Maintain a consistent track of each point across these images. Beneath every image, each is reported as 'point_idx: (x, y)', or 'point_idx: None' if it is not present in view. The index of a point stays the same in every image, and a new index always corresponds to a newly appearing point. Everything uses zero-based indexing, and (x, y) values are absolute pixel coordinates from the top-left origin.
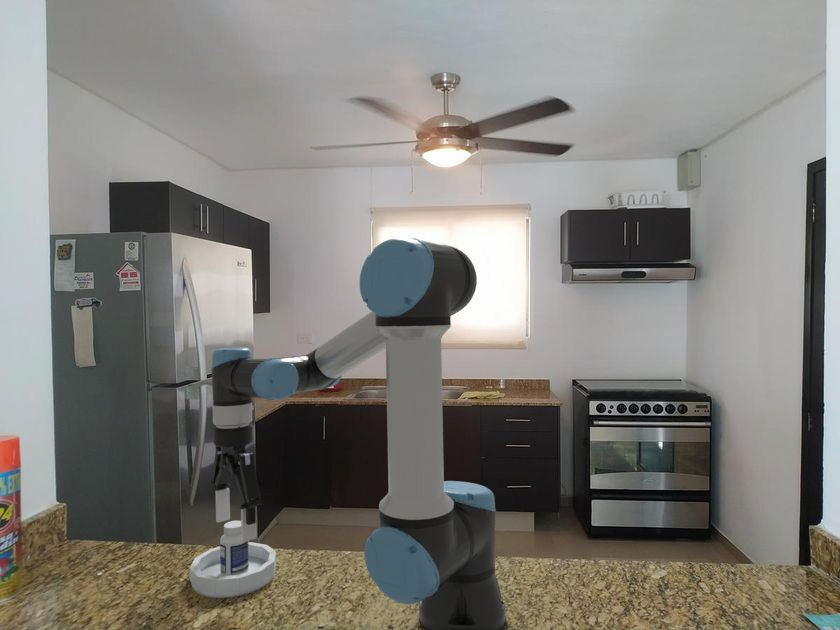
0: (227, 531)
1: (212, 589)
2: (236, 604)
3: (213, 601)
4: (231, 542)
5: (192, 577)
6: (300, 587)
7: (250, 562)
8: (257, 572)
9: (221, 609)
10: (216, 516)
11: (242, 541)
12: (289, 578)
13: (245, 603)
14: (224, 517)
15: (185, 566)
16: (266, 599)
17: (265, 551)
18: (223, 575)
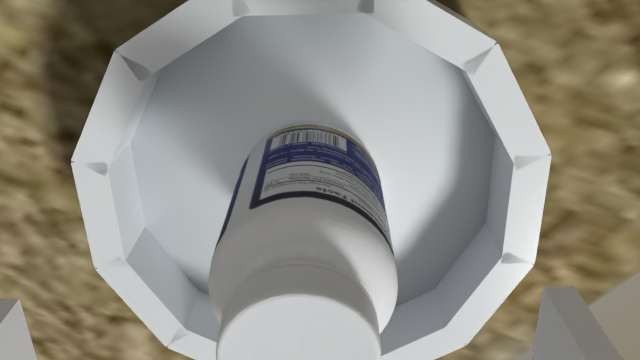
0: (254, 283)
1: (150, 25)
2: (41, 89)
3: (127, 10)
4: (218, 252)
5: None
6: (52, 335)
7: None
8: (91, 250)
9: (28, 16)
10: (581, 317)
11: (3, 301)
12: (150, 334)
13: (30, 124)
14: (543, 354)
15: (626, 10)
16: (21, 204)
17: None
18: (285, 125)
